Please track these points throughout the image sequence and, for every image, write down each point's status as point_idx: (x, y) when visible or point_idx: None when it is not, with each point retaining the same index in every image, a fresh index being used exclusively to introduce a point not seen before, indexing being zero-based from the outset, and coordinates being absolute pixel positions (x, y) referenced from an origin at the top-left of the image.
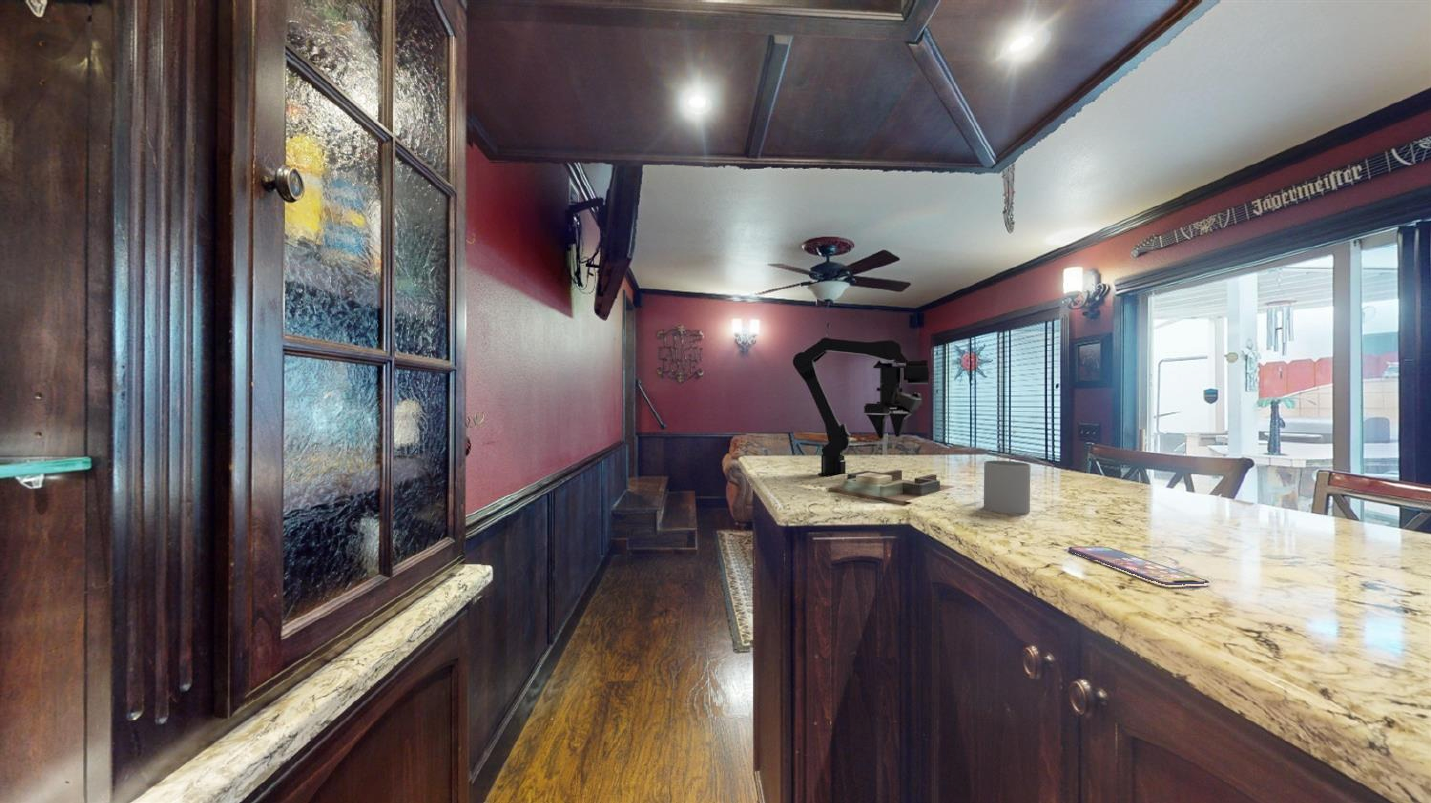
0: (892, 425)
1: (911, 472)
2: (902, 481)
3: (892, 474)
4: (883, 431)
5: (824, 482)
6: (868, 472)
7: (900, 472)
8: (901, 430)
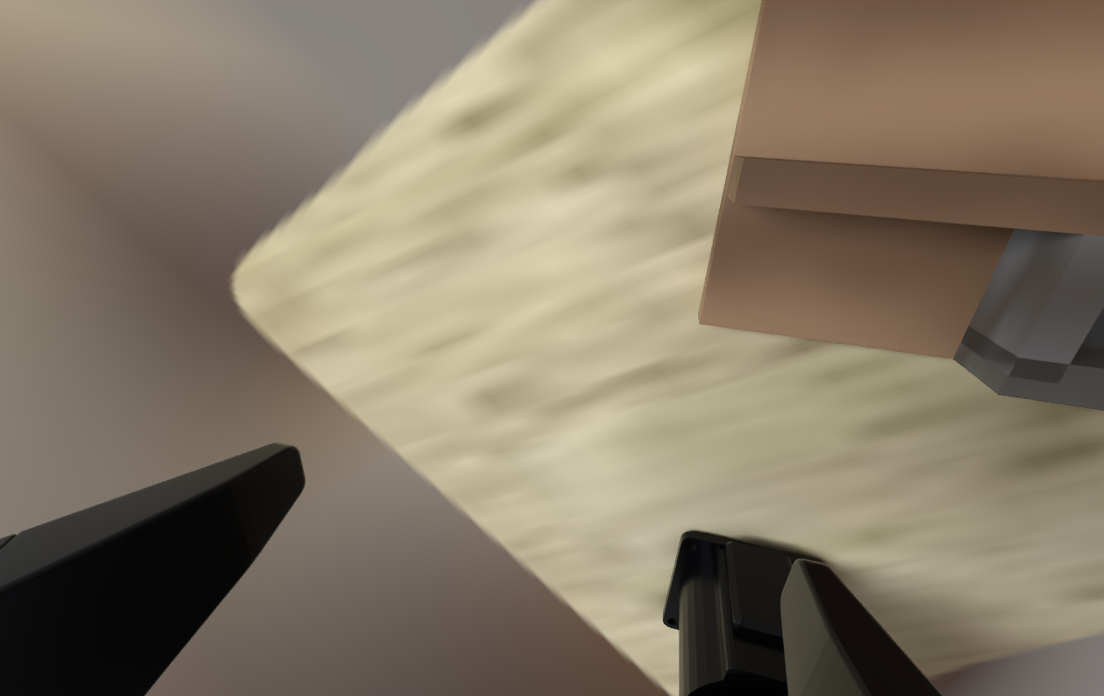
0: (148, 688)
1: (278, 285)
2: (862, 94)
3: (945, 171)
4: (908, 692)
5: (1071, 566)
6: (1064, 361)
7: (772, 159)
8: (159, 484)
